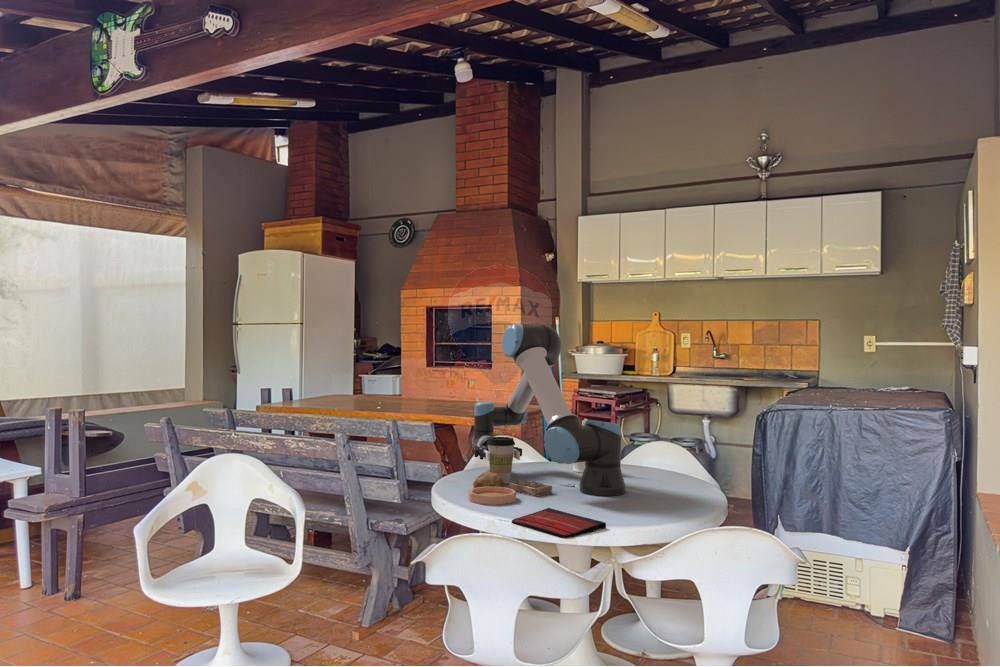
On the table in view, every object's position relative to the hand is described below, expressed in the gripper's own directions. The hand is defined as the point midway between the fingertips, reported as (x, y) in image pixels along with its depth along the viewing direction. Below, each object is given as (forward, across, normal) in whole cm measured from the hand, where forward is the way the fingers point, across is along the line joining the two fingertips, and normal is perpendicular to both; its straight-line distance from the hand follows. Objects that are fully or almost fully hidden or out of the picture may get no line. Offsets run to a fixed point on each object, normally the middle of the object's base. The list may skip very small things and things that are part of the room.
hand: (503, 456), depth 234 cm
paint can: (-24, -37, -10) cm, 45 cm away
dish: (+18, +8, -10) cm, 22 cm away
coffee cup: (-4, 0, -10) cm, 11 cm away
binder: (+51, -2, -11) cm, 52 cm away
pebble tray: (+9, -7, -10) cm, 15 cm away
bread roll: (+5, +7, -11) cm, 13 cm away
